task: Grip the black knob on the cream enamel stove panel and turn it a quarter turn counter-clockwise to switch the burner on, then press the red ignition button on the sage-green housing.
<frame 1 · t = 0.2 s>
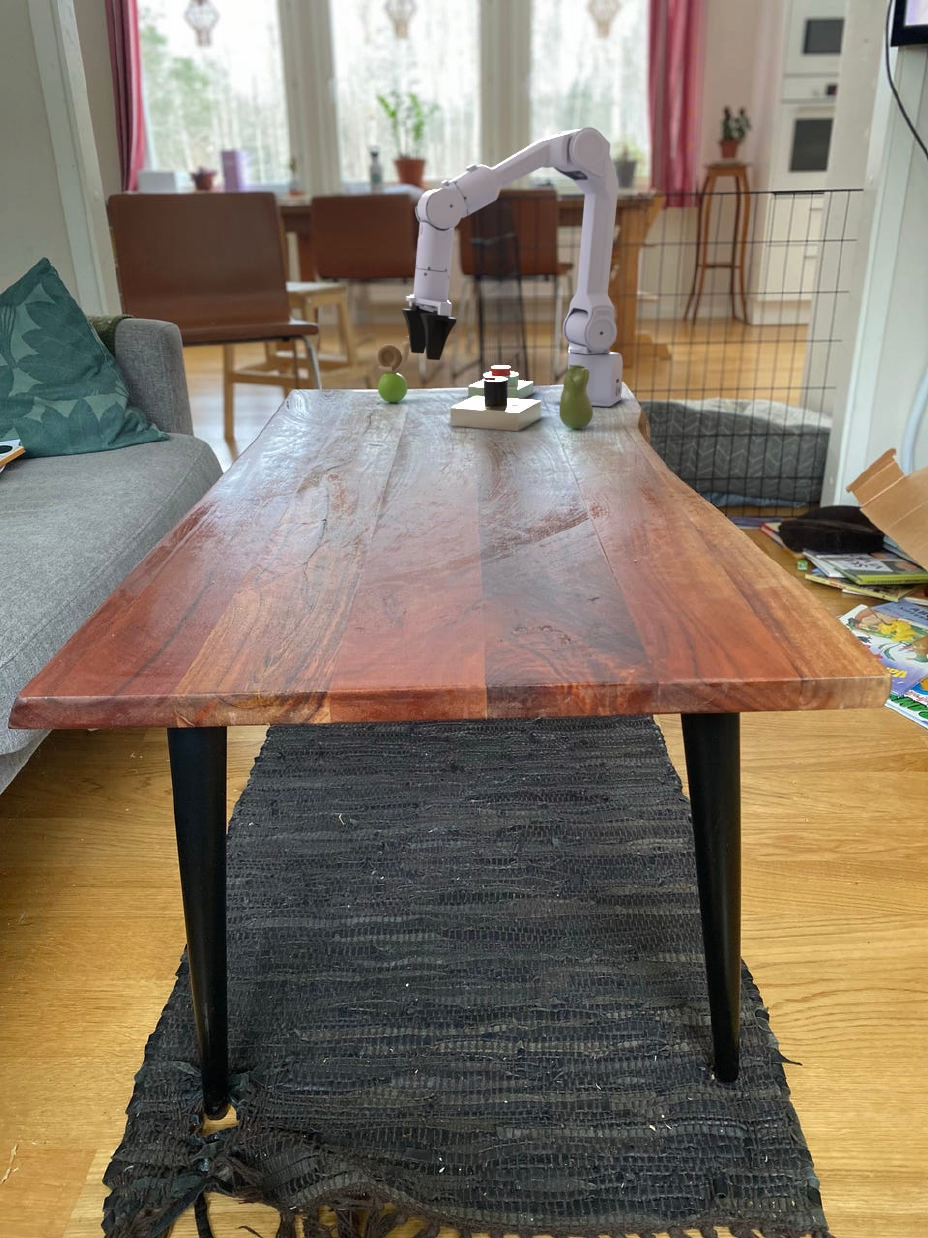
hand: (425, 356, 157), 10 cm above the table, tool pointing down, fingers open, 7 cm apart
snail figurine: (396, 403, 173), on the table
stove panel: (496, 421, 156), on the table
stove knob: (495, 390, 154), point 5 cm above the table, hinge at 0.0°
pear: (575, 429, 151), on the table
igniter: (501, 395, 176), on the table
ignite button: (500, 371, 175), point 4 cm above the table, slide at 0.1 cm
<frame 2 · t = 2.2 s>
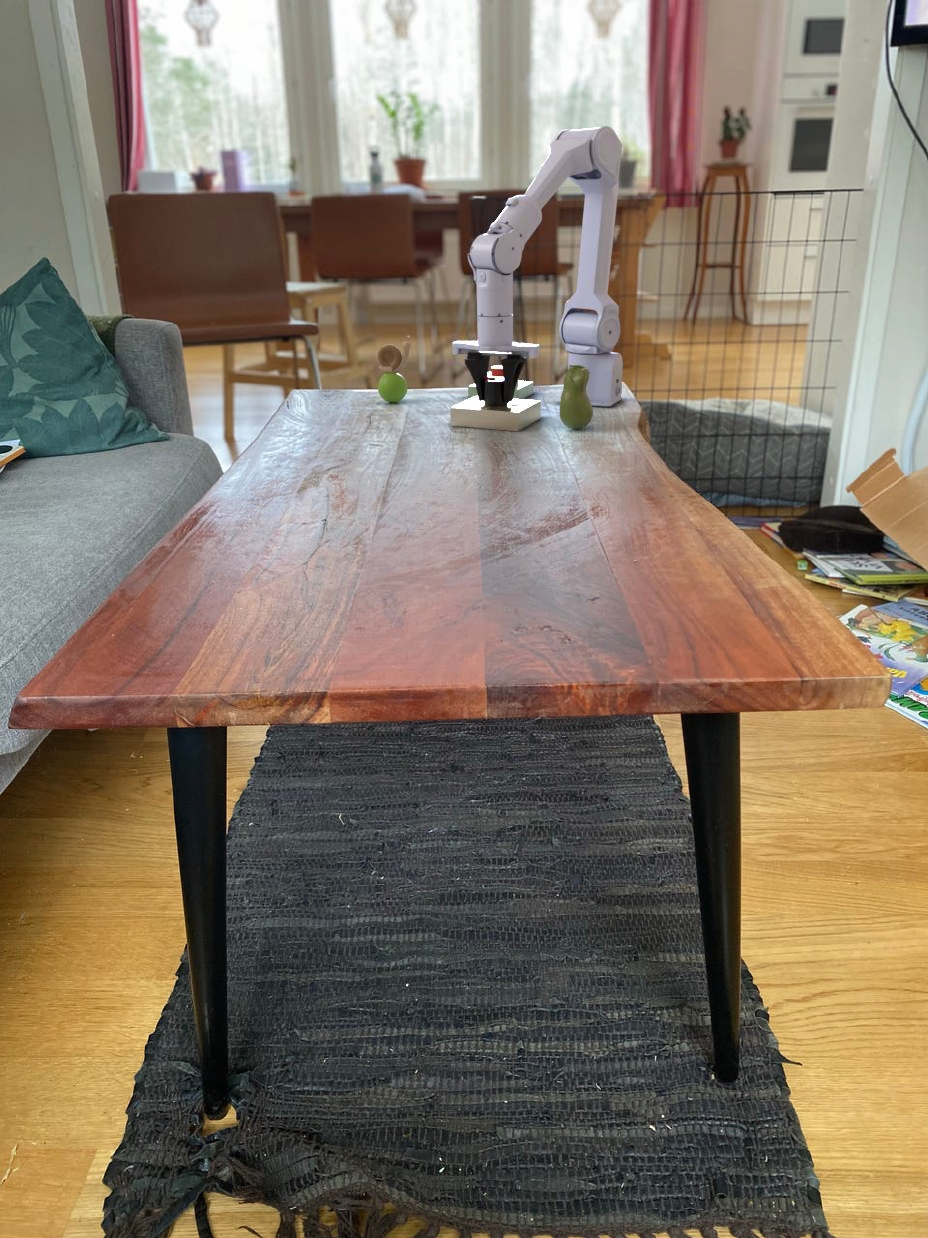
hand: (495, 400, 155), 4 cm above the table, tool pointing down, fingers closed on stove knob, 4 cm apart
stove knob: (495, 390, 154), point 5 cm above the table, hinge at 0.0°, touching gripper
everything else where it was.
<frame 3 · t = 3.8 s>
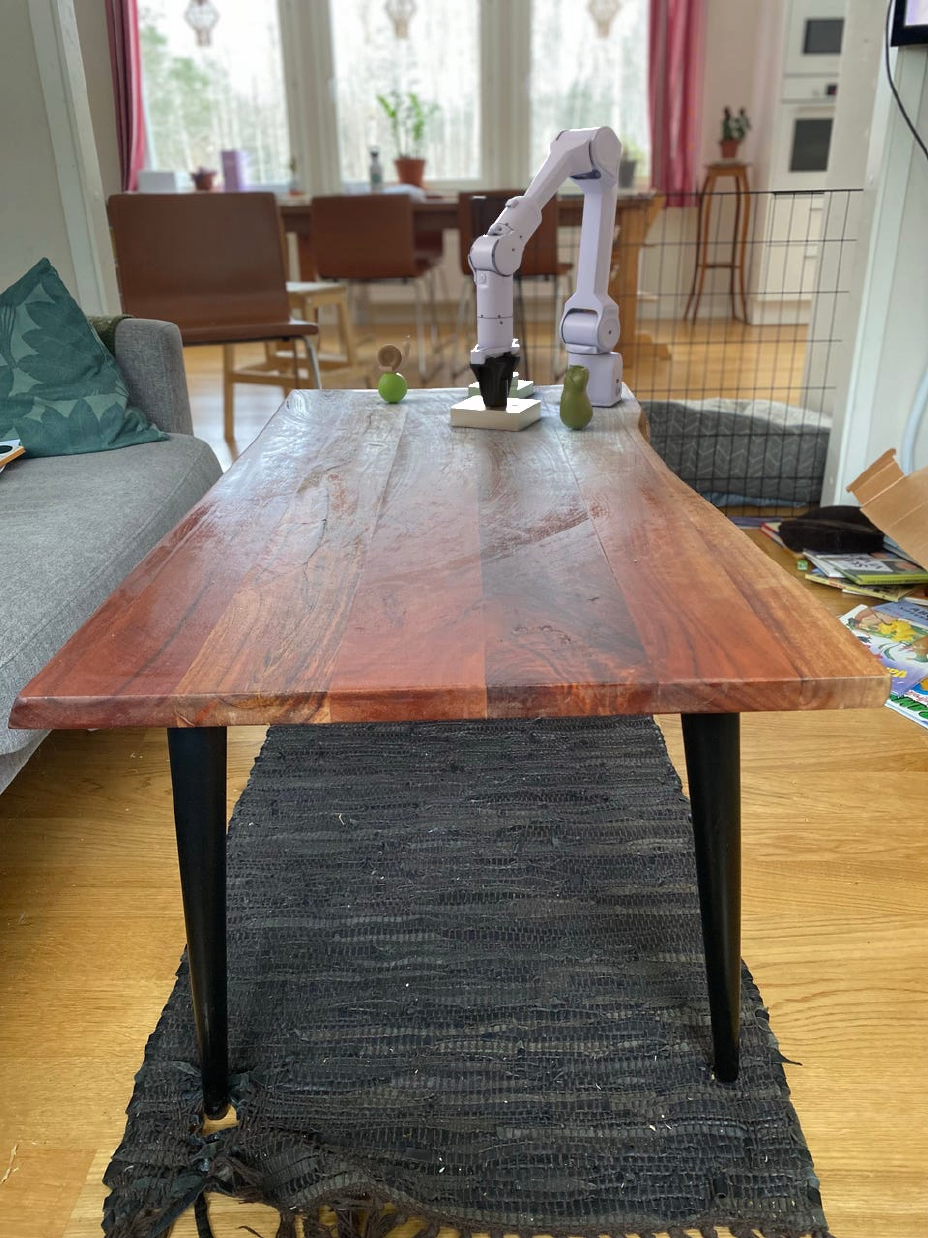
hand: (495, 402, 155), 3 cm above the table, tool pointing down, fingers closed on stove knob, 4 cm apart
stove knob: (495, 390, 154), point 5 cm above the table, hinge at 89.5°, touching gripper
everything else where it was.
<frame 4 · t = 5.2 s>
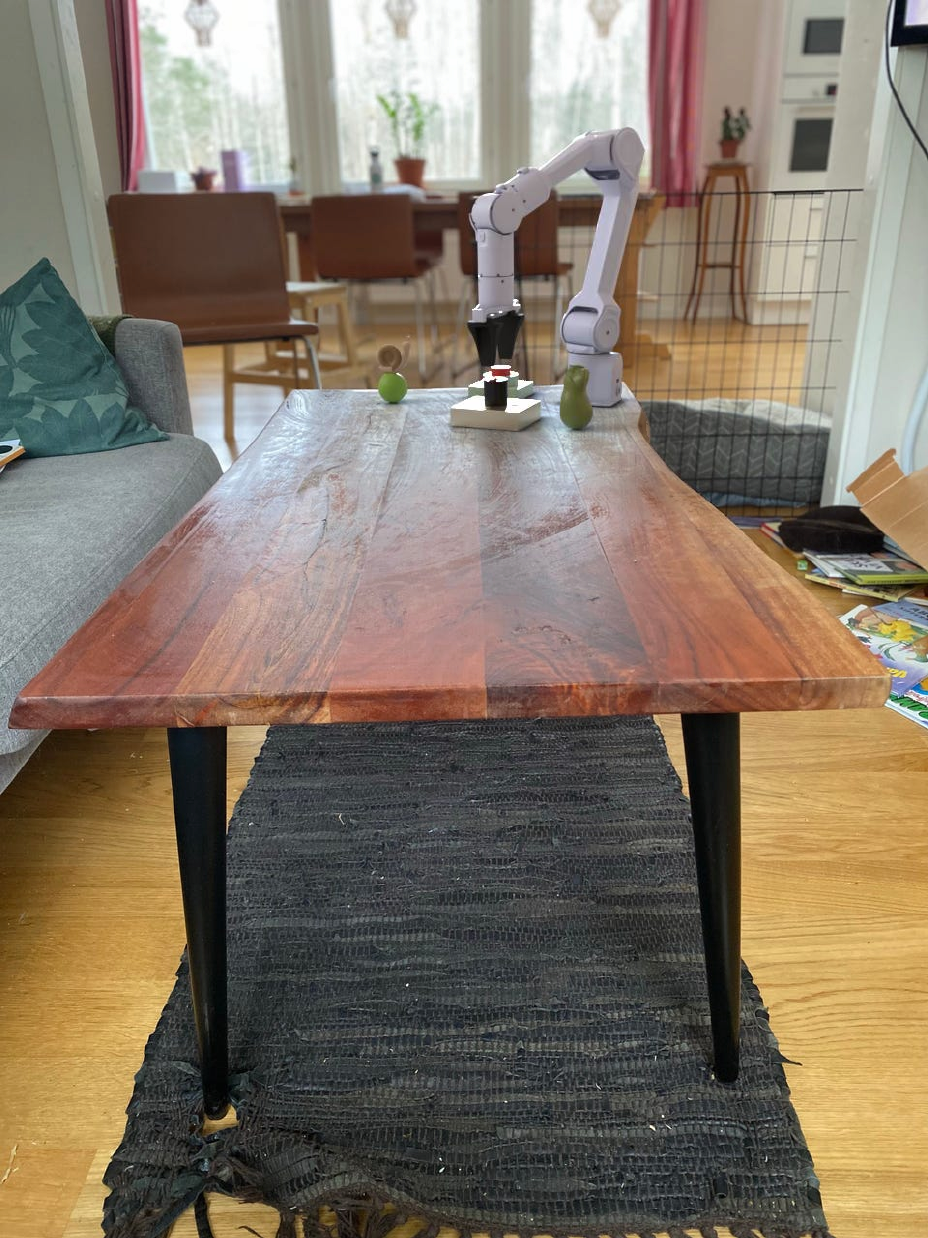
hand: (496, 362, 155), 9 cm above the table, tool pointing down, fingers open, 7 cm apart
stove knob: (495, 390, 154), point 5 cm above the table, hinge at 89.3°
everything else where it was.
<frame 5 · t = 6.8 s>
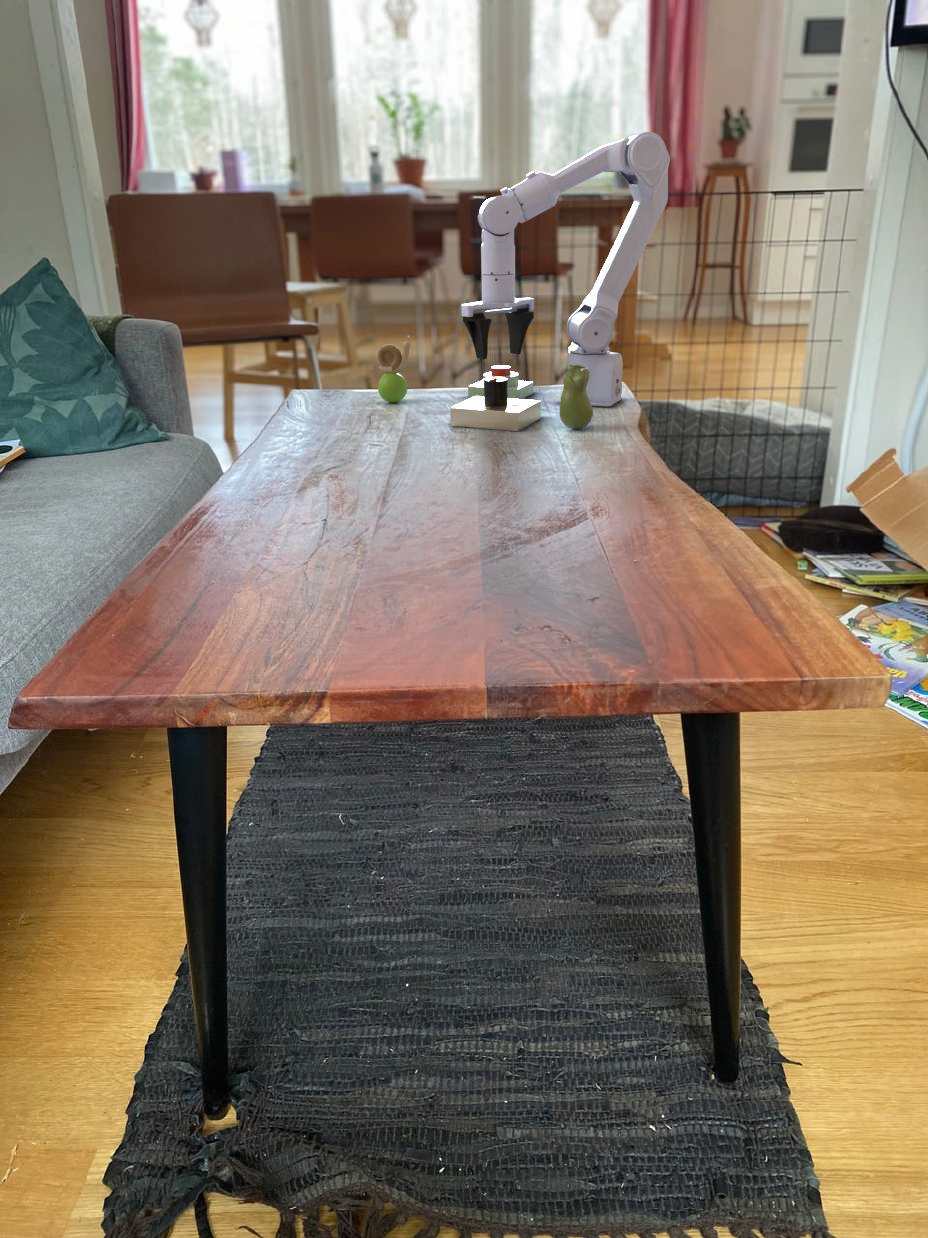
hand: (498, 356, 165), 9 cm above the table, tool pointing down, fingers open, 7 cm apart
nothing on the table moved.
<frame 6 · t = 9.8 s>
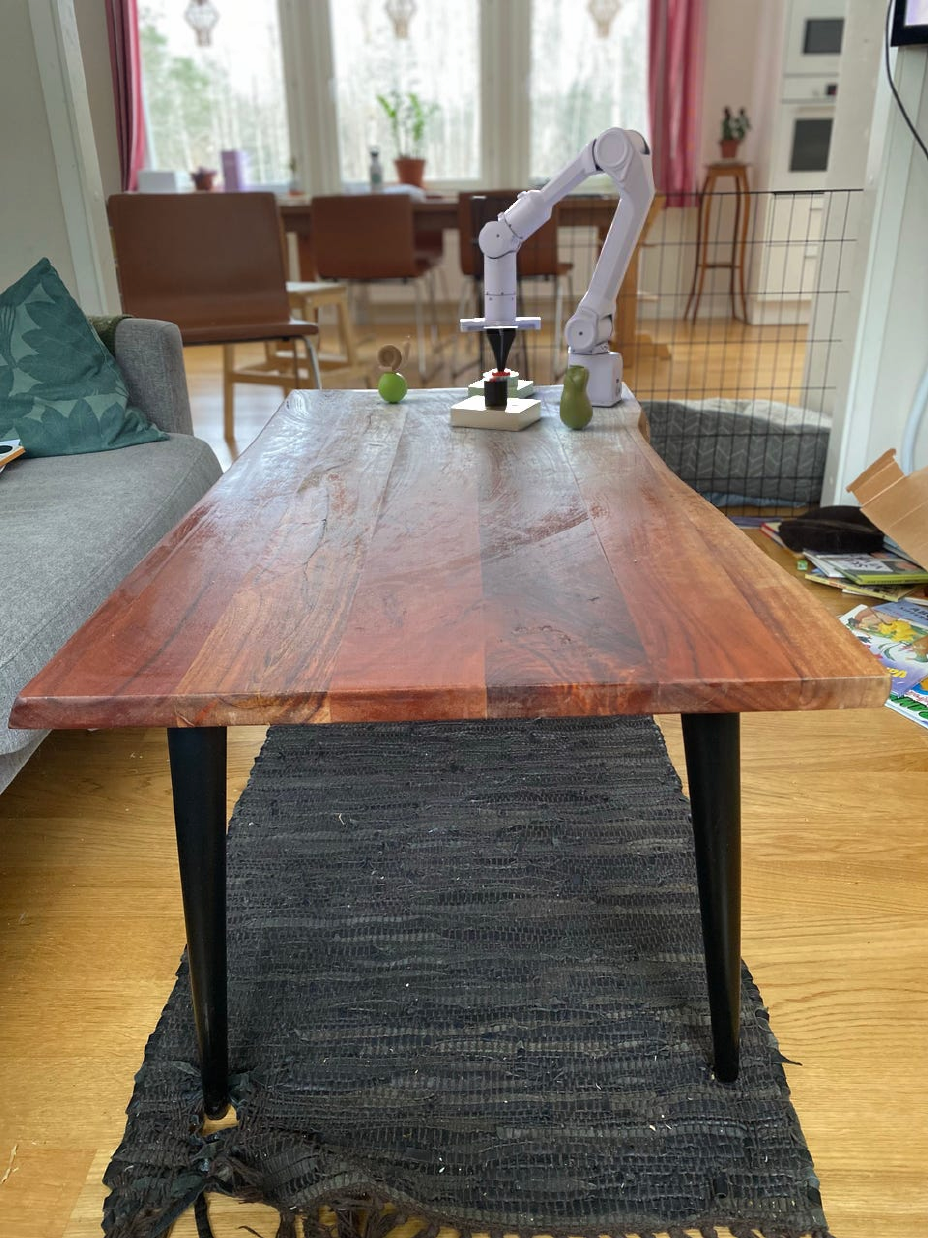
hand: (500, 370, 174), 5 cm above the table, tool pointing down, fingers closed, pressing on ignite button
ignite button: (500, 375, 175), point 4 cm above the table, slide at -0.6 cm, touching gripper
everything else where it was.
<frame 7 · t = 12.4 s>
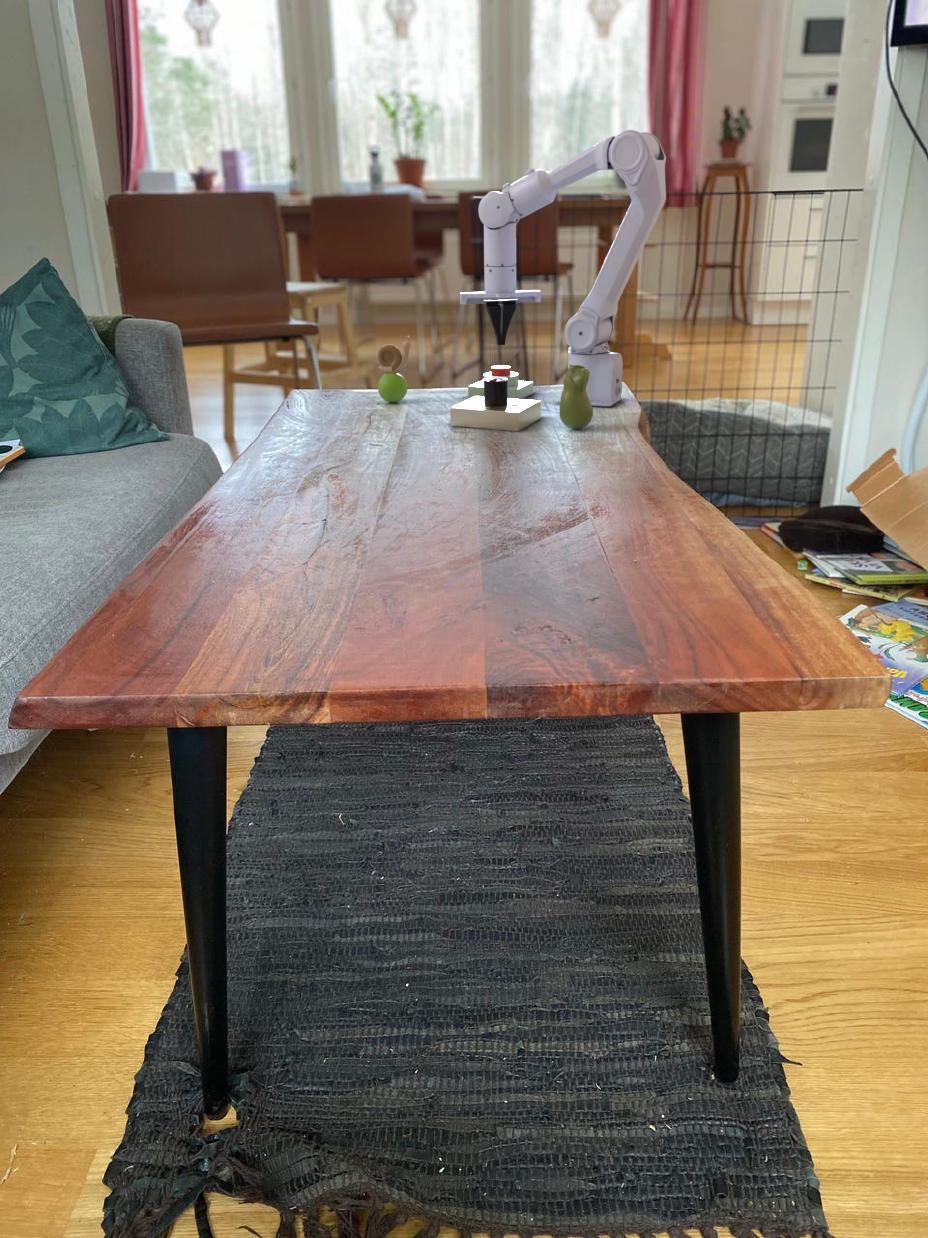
hand: (500, 344, 172), 9 cm above the table, tool pointing down, fingers closed
ignite button: (500, 371, 175), point 4 cm above the table, slide at 0.1 cm
everything else where it was.
at the end: stove knob at +89° (first picture: +0°); ignite button pushed in 1.2 cm at the most during the clip, back to where it started at the end; ignite button slide at 0.1 cm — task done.
